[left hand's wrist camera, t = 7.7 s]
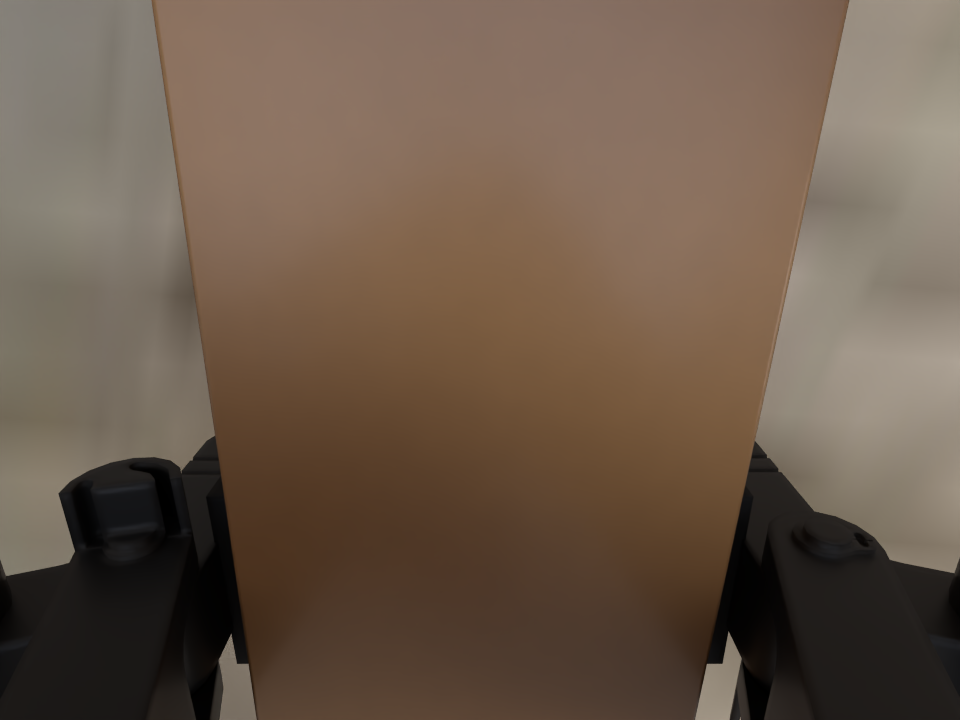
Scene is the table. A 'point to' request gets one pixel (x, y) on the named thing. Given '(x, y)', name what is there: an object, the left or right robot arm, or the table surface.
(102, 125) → the table surface
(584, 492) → the beam
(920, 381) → the table surface
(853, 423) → the table surface
